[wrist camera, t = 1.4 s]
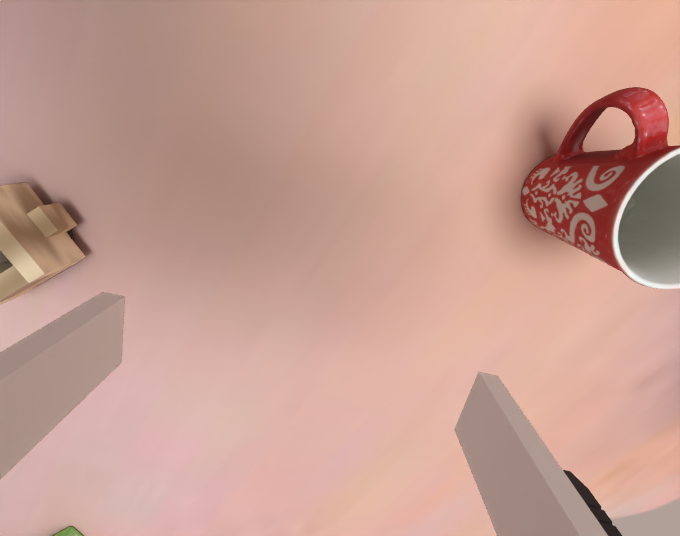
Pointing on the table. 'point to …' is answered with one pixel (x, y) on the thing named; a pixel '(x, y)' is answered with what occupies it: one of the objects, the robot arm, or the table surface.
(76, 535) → the ink box
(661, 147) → the mug
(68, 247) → the tan wooden frame
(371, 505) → the table surface
